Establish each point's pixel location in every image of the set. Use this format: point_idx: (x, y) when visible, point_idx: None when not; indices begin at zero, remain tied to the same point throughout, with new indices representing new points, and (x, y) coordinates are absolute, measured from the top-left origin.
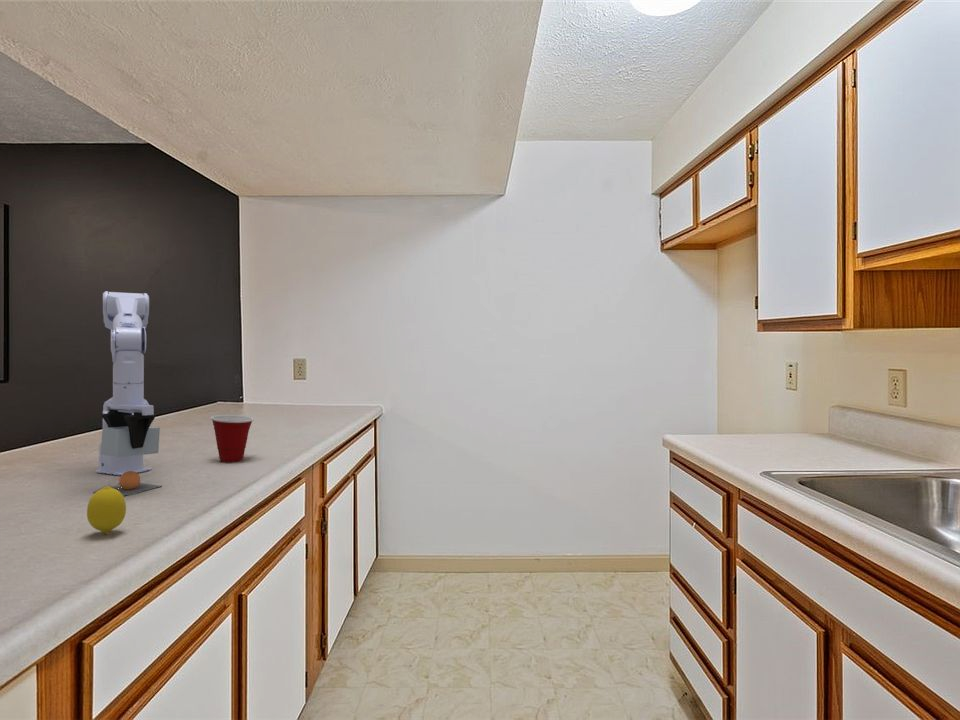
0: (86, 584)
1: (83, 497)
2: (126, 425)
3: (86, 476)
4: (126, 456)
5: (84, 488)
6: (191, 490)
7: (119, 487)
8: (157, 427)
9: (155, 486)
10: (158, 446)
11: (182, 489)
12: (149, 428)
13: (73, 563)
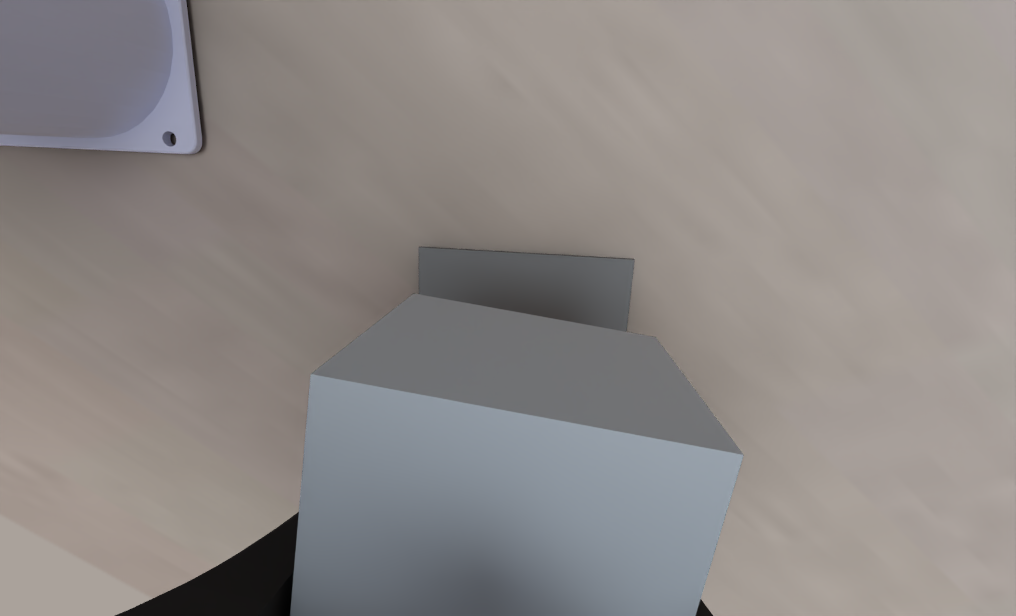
0: None
1: None
2: (269, 614)
3: (30, 229)
4: (65, 85)
5: (296, 424)
6: (866, 260)
7: None
8: (696, 456)
9: (611, 286)
10: (670, 359)
11: (796, 261)
12: (695, 601)
13: None
